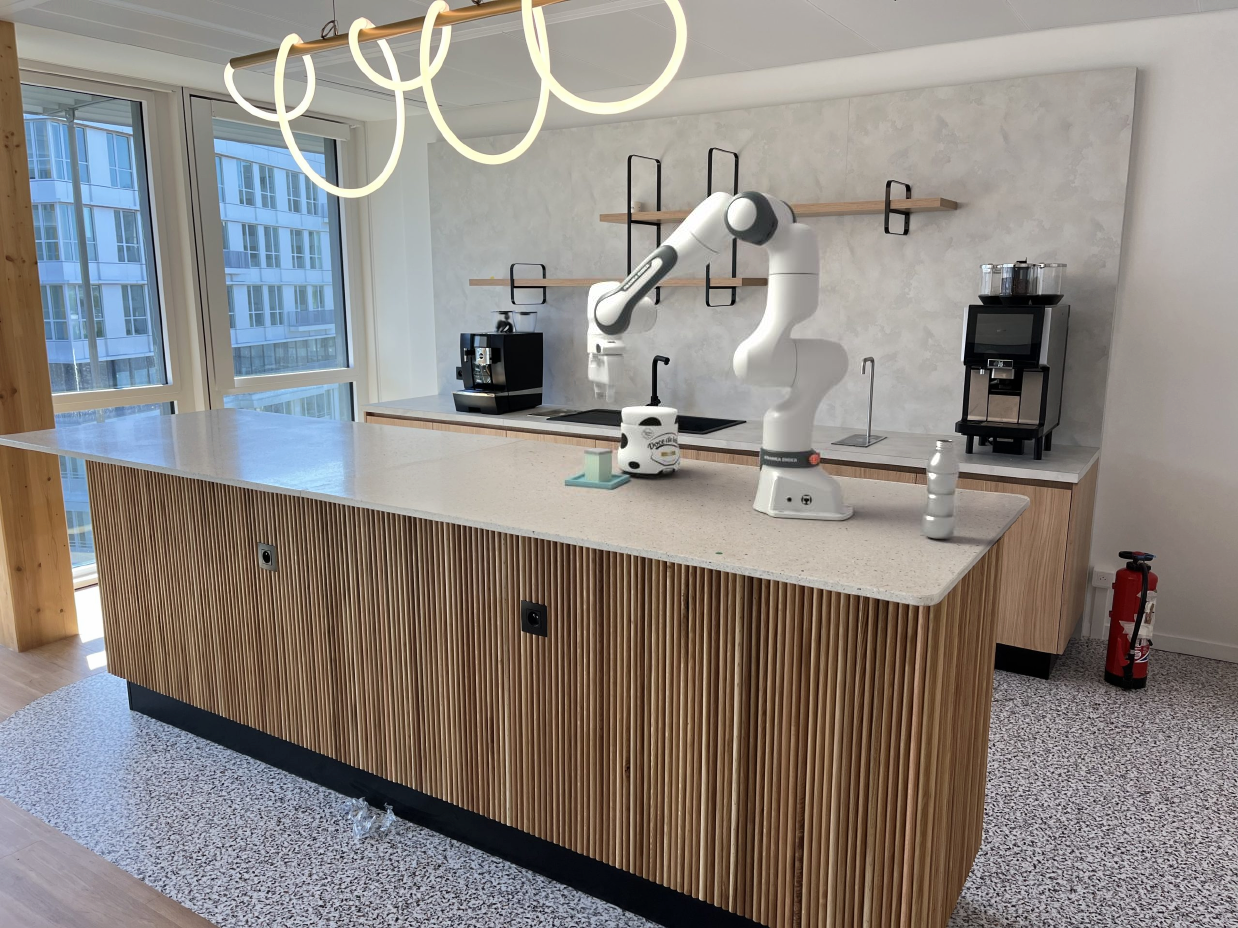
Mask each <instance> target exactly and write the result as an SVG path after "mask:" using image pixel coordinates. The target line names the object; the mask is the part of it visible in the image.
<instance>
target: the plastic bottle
mask: <svg viewBox="0 0 1238 928" xmlns="http://www.w3.org/2000/svg"><path fill="white" fill-rule="evenodd" d="M933 447H934V450H935V452H934V453H933V454H932V455H931V456H930V458H929V459H928V461H927V463H926V466H925V467H926V468H925V469H926V487H927V488H926V491H927V493H926V502H925V508H924V513H923V516H922V520H921V531H922V533H923V535H924V536H925V537H928V538H932V539H937V540H941V539H942V540H944V539H949V538H952V536H953V535H954V534H955V529H956V519H955V518H956V517H955V516H954V515H955V494H956V487H957V483H958V478H959V473H960V463H959V461H958V459H957V458H956V456H955V455H954V451H955V440H950V439H936V440H935V442H934V446H933Z"/></svg>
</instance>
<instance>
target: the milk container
mask: <svg viewBox="0 0 1238 928" xmlns="http://www.w3.org/2000/svg"><path fill="white" fill-rule="evenodd" d="M678 413H679V412H678V409H677V408H674V407H666V406H656V405H655V406H650V405H649V406H647V405H645V406H639V405H638V406H628V407H627V406H626V407H624V408H622V409H621V417H620V421H621V423H620V430H621V431H620V434H621V435H620V436H621V437H620V443H619V448H618V452H617V465H618V468H619V470H621V472H622V473H624V474H626V475H630V476H638V477H648V478H650V477H653V478H654V477H663V476H669V475H673V474H675V473H676V472H677V471H678V470H679V469H680V465H681V459H682V458H681V450H680V447H679V443H678V441H679V440H678V437H679V436H678V434H679V433H678V432H679V423H678V422H679V414H678Z"/></svg>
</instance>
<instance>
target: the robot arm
mask: <svg viewBox="0 0 1238 928" xmlns="http://www.w3.org/2000/svg"><path fill="white" fill-rule="evenodd" d="M797 219H798V218H797V215H796V212H795V210H794V209H793V208H792V206H791V205H789V204H788V203H787V202H785V201H783V199H782V200H781V199H778V198H776V197H775V196H774V195H770V194H769V193H765V192H764V193H763V192H759V191H756V190H755V191H754V190H748V191H742V192H740V193H737V194H735V195H734V196H733V195H731V194H730V193H727V192H724V191H723V192H722V191H718V192H714V193H713V194H711V195H710V196H709V197H707V198H706V199H705V200H704V201H702V202H701V203H700V204H699V205H698V206H697V207H695V209H694V210H693V211H692V212H691V213H690V214H689V215H688V216H687V217H686V218H685V220H683V222H682V223H681V224H680V225H679V227H677V228H676V230H675V231H674V232H673V233H672V234H671V235H670V236H669V237H668V238H667V239H666V240H665V241H664V242H663V243H662V244H661V245H659V246H658V247H657V248H656V249H655V250H653V252H651V253H650V254H649V255H648V256H647V257H645V259H644V260H643V261H642V262H641V263H640V264H639V265H637V267H636V268H635V269H634V270H633V271H631V273H630V274H629V275H628V276H626V278H625V279H624V280H623V281H622V282H621V283H620V282H619V281H617V280H607V281H599V282H597V283H594V284H593V285H591V287H590V289H589V292H588V297H587V320H588V330H587V337H586V338H587V343H586V344H587V350H586V351H587V353H588V354H589V355H588V363H587V364H588V368H587V377H588V380H589V381H591V382H593V388H594V392H595V394H594V396H595V397H594V398H595V399H596V400H603V399H604V398H605V402H606V403H614V402H615V401H614V400H615V392H616V390H617V389H616V388H617V386H618V385H620V386H621V385H622V384H623V380H624V373H625V372H624V369H625V356H624V355H626V353H627V346H626V344H625V343H624V342H623V335H631V334H643V333H646V332H648V331H650V330H651V329H653V328H654V325H655V324H656V322H657V317H658V316H657V315H658V309H657V307H656V304H655V302H654V301H653V299H652V298H650V297H648V295H649V294H651V293H652V291H654V290H655V289H656V287H658V286H659V285H660V284H661V283H663V282H665V281H667V280H669V279H671V278H673V277H676V276H681V275H685V274H689V273H690V274H691V273H695V272H698V271H701V270H702V269H703V268H705V267H706V266H708V265H709V264H710V263H712V261H713V260H714V259H715V258H716V257H717V256H718V255H719V254H720V252H721V251H722V250H723V249H725V247H726V246H727V245H728V244H729V243H730V242H731V241H732V240H734V239H737V240H739V241H742V242H744V243H748V244H750V245H754V246H758V247H759V246H760V247H764V248H765V249H766V251H767V253H768V263H769V265H768V282H767V283H768V284H767V286H768V287H767V297H766V307H765V312H764V314H763V316H762V319H761V321H760V323H759V325H758V326H757V328H756V329H755V331H754V332H753V333H751V335H750V336H749V337H748V338H746V339H745V340H744V341H742V342H741V343H740V344H739V345H738V347H737V348H736V350H735V352H734V354H733V360H732V367H733V372H734V374H735V377H737V379H738V380H739V382H740V383H741V384H745V385H748V386H753V387H757V388H789V389H790V392H789V394H788V396H787V397H786V398H785V399H784V400H783V401H781V402H778V403H777V404H774V405H772V406H771V407H770V408H769V409H767V411H766V412H765V413H764V416H763V421H762V425H763V427H762V443H761V444H762V446H761V447H760V451H759V456H758V457H759V460H758V461H759V463H758V468H759V472H760V473H759V480H758V486H757V490H756V491H757V492H756V495H755V499H754V502H753V505H752V508H753V509H754V510H756V511H758V512H761V513H764V514H767V515H769V517H773V518H774V517H775V518H784V519H786V518H788V519H805V520H806V519H807V520H824V521H825V520H826V521H843V520H847V519H849V518H850V517H852V515H853V514H854V508H853V506H851V504H847V503H845V502H844V501H845V499H844V491H843V489H842V485H841V484H840V482H839V481H837V480H836V479H835V478H834V477H832V475H830V474H829V473H828V472H827V471H826V470H824V468H822V467H821V466H820V464H821V452H820V451H819V452H817V450H815V449H813V448H812V447H813V446H812V443H813V432H814V425H815V424H814V423H815V417H816V414H817V410H818V408H819V406H820V404H821V402H822V401H823V400H824V398H825V397H826V395H827V394H828V393H830V391H831V390H832V389H834V387H836V386H838V385H839V384H841V382H842V381H843V380H844V378H845V377H846V375H847V373H848V369H849V365H850V362H849V356H848V352H847V351H846V349H845V347H844V345H842V343H840V342H836V341H833V340H829V339H823V338H792V337H791V333H792V330H793V328H794V327H795V326H796V325H798V324H800V323H803V322H804V321H806V320H808V319H809V318H811V317H812V316H814V315H815V313H817V310H818V307H819V294H820V293H819V292H820V269H821V268H820V265H821V264H820V263H821V262H820V253H819V252H820V250H819V249H820V248H819V242H818V236H817V233H816V231H815V230H814V228H813V227H811V226H809V225H808V224H805V223H800V222H798V220H797ZM604 385H605V387H606V394H605V397H604V390H603V386H604Z"/></svg>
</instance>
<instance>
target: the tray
mask: <svg viewBox="0 0 1238 928" xmlns="http://www.w3.org/2000/svg"><path fill="white" fill-rule="evenodd" d="M630 481H631V475H630V474H620V473H612V480H611V481H607V482H592V481H585V471H583V472H581V473H578V474H575V475H573V476H571V477H569V478H565V479H564V486H568V487H569V486H571V487H580V488H581V487H582V488H583V487H584V488H591V489H592V488H593V489H601V490H602V489H603V490H613V489H615V488H617V487H620V486H621V485H624V484H625V483H628V482H630Z"/></svg>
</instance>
